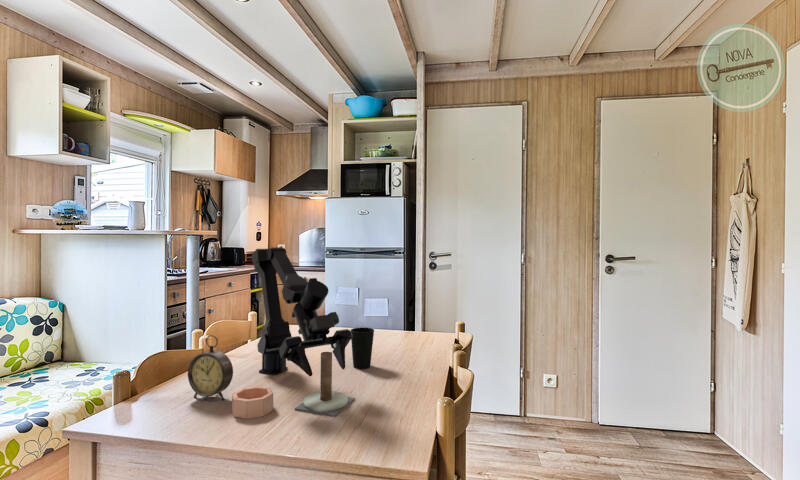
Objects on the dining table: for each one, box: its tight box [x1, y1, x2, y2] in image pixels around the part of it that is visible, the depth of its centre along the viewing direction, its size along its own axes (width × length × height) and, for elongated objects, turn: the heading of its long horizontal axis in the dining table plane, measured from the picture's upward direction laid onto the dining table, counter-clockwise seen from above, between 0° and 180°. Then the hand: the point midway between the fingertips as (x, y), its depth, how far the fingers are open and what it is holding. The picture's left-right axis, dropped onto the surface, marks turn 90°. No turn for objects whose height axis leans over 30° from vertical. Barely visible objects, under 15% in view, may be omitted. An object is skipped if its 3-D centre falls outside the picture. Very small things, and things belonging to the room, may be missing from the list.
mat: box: [294, 396, 356, 417], centre depth 104 cm, size 11×11×1 cm
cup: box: [350, 326, 375, 370], centre depth 136 cm, size 8×8×12 cm
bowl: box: [231, 385, 274, 419], centre depth 101 cm, size 9×9×4 cm
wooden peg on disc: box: [302, 351, 349, 412], centre depth 104 cm, size 11×11×12 cm
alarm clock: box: [187, 334, 234, 401], centre depth 108 cm, size 11×5×16 cm, turn 75°
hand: (328, 372), depth 104 cm, fingers open, 9 cm apart
